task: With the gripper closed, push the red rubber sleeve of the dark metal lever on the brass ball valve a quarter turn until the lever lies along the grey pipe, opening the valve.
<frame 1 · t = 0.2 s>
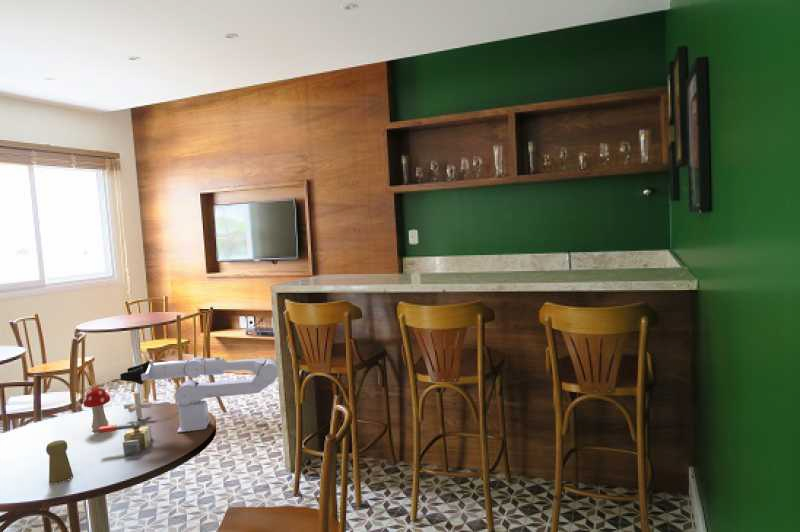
hand: (124, 374, 192), 21 cm above the table, tool horizontal, fingers open, 7 cm apart
valve body: (138, 446, 183), on the table
pipe connector: (139, 419, 211), on the table
cork: (61, 479, 163), on the table
valve lever: (119, 427, 182), point 7 cm above the table, hinge at 0.0°
decorative mushroom: (100, 428, 204), on the table
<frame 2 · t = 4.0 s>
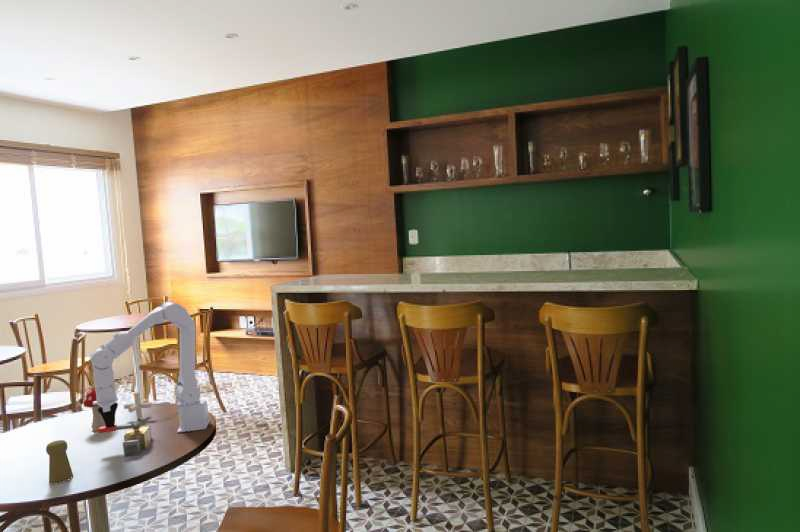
hand: (110, 427, 183), 7 cm above the table, tool pointing down, fingers closed, pressing on valve lever
valve lever: (119, 427, 182), point 7 cm above the table, hinge at 0.2°, touching gripper
everything else where it was.
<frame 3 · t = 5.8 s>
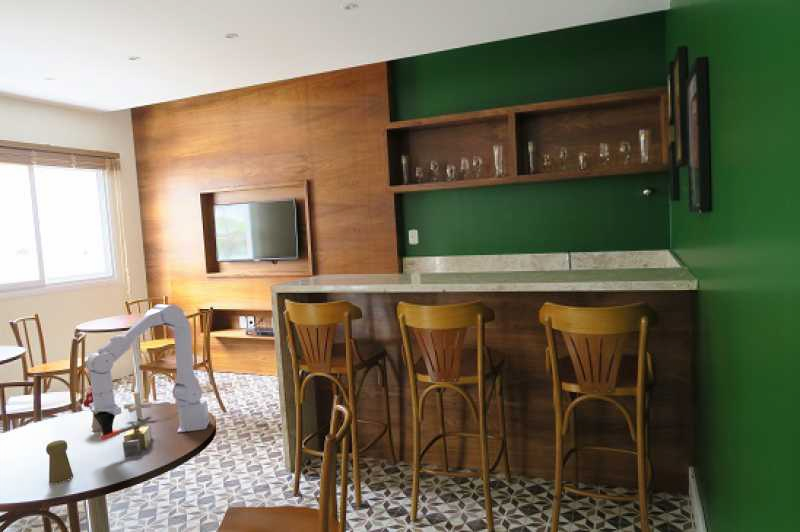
hand: (108, 434, 176), 7 cm above the table, tool pointing down, fingers closed, pressing on valve lever
valve lever: (121, 430, 178), point 7 cm above the table, hinge at 45.2°, touching gripper
everything else where it was.
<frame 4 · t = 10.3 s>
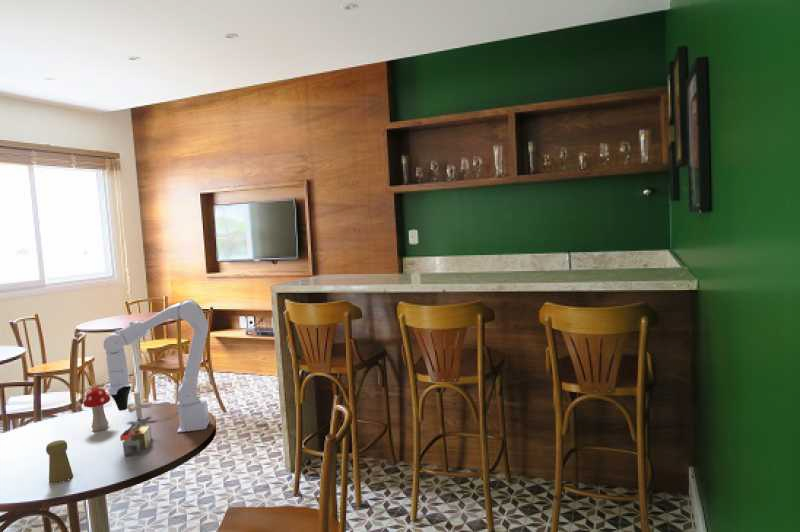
hand: (122, 409, 189), 10 cm above the table, tool pointing down, fingers closed
valve lever: (130, 430, 177), point 7 cm above the table, hinge at 88.2°
everything else where it was.
at the end: valve lever at +88° (first picture: +0°) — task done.
